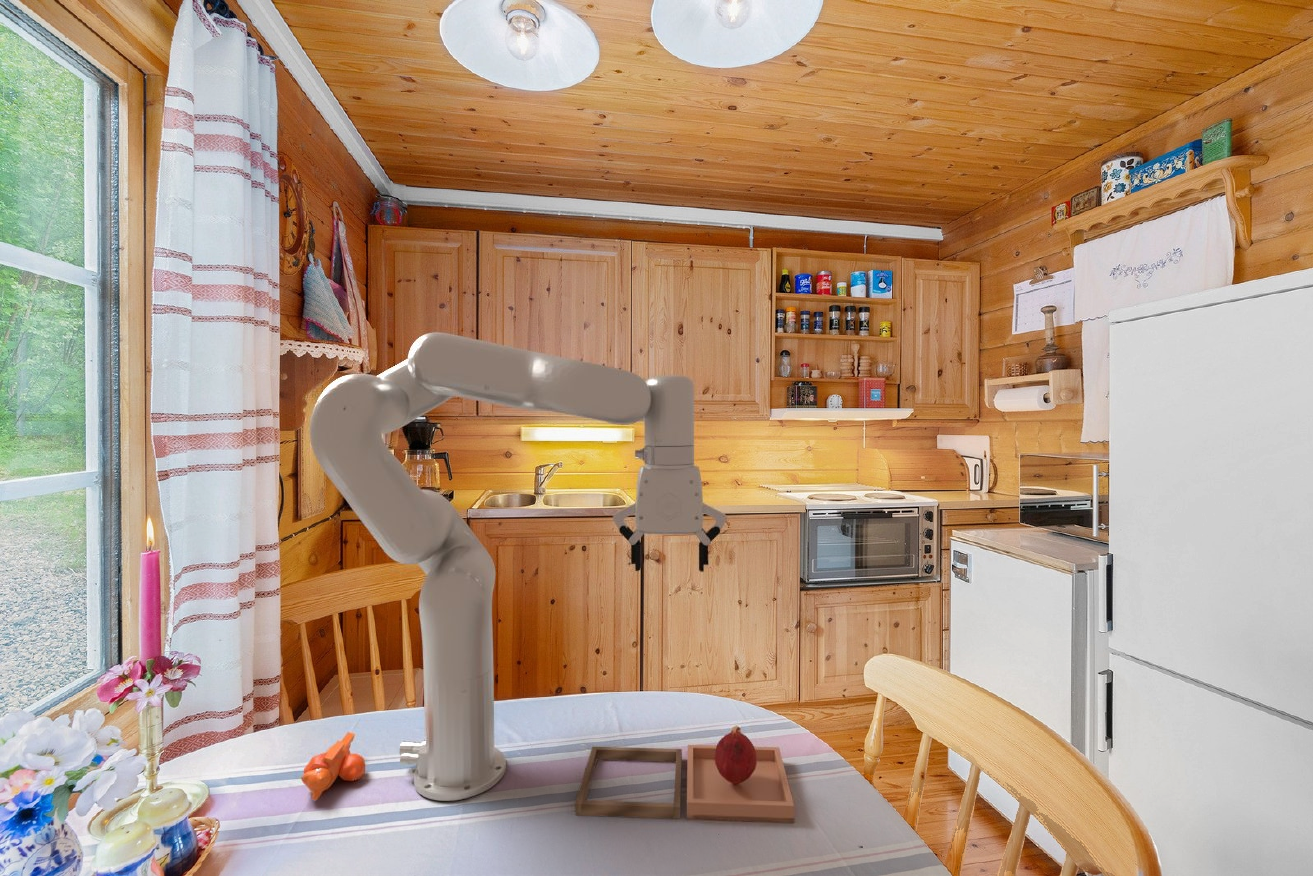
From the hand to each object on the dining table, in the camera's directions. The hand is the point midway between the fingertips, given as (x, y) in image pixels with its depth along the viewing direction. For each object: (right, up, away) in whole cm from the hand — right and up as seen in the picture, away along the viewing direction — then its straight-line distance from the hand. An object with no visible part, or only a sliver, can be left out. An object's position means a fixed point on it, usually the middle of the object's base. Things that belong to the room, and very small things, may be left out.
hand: (669, 569), depth 93 cm
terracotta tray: (+9, -29, -8) cm, 31 cm away
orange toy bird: (-47, -29, -6) cm, 56 cm away
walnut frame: (-5, -29, -8) cm, 30 cm away
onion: (+9, -28, -8) cm, 31 cm away
